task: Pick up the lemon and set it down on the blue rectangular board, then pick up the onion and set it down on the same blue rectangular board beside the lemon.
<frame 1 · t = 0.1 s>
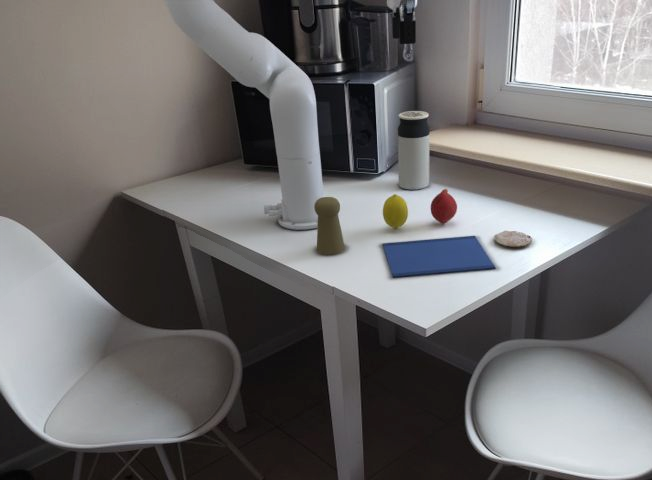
hand: (403, 40, 127), 37 cm above the table, tool pointing down, fingers open, 9 cm apart
onion: (443, 224, 140), on the table
travel mug: (413, 186, 163), on the table
lemon: (395, 230, 139), on the table
olive pawn: (330, 250, 131), on the table
blue rectangular board: (436, 256, 125), on the table
flatbread: (512, 241, 130), on the table
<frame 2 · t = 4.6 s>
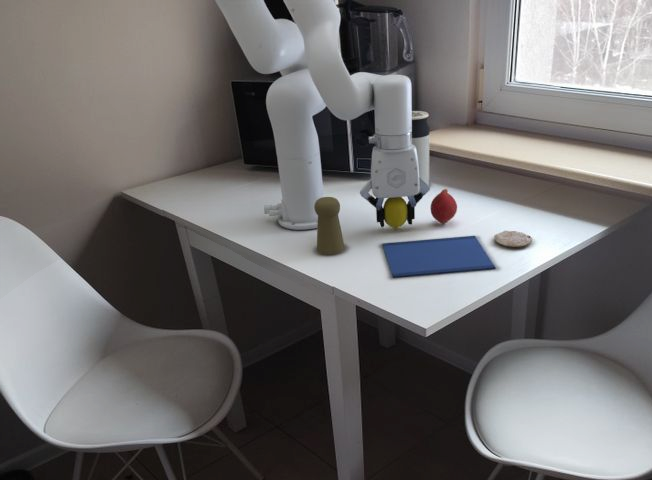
hand: (395, 222, 138), 2 cm above the table, tool pointing down, fingers closed on lemon, 5 cm apart
lemon: (395, 230, 139), on the table, touching gripper
everything else where it was.
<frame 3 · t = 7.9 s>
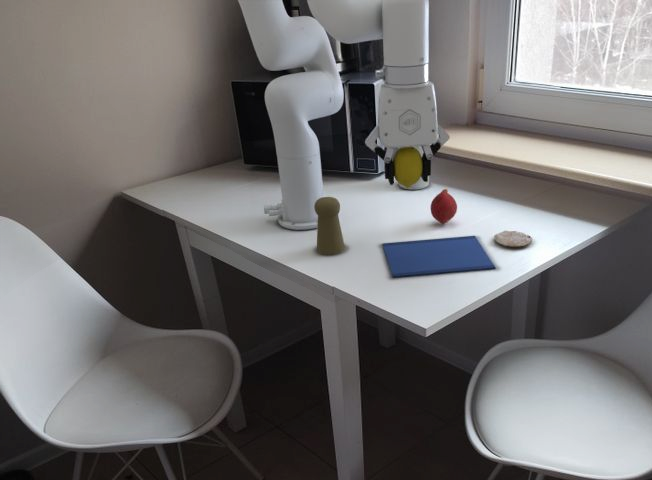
hand: (407, 180, 114), 17 cm above the table, tool pointing down, fingers closed on lemon, 5 cm apart
lemon: (407, 189, 115), point 15 cm above the table, touching gripper
everything else where it was.
when the fingers open (2 cm above the table, at t = 11.7 s): lemon stays where it is, resting on blue rectangular board.
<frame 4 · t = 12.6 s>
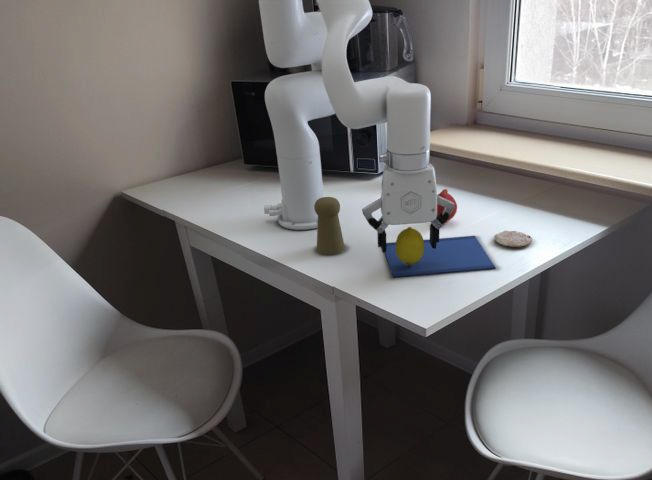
hand: (408, 247, 120), 4 cm above the table, tool pointing down, fingers open, 9 cm apart
lemon: (410, 266, 122), resting on blue rectangular board
everything else where it was.
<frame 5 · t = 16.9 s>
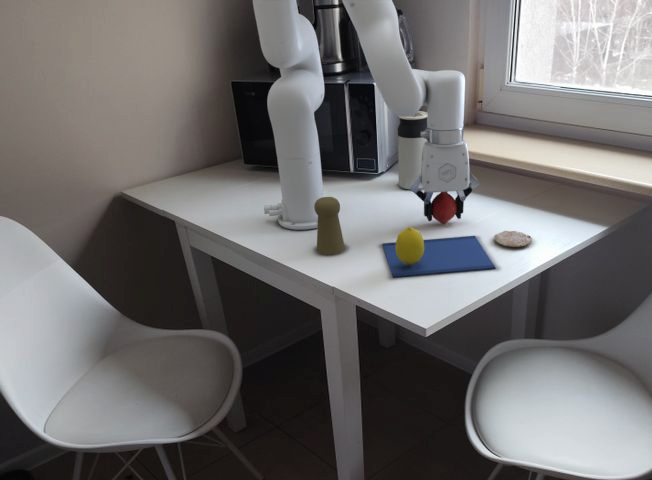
hand: (443, 217, 139), 2 cm above the table, tool pointing down, fingers closed on onion, 5 cm apart
onion: (443, 224, 140), on the table, touching gripper
everything else where it was.
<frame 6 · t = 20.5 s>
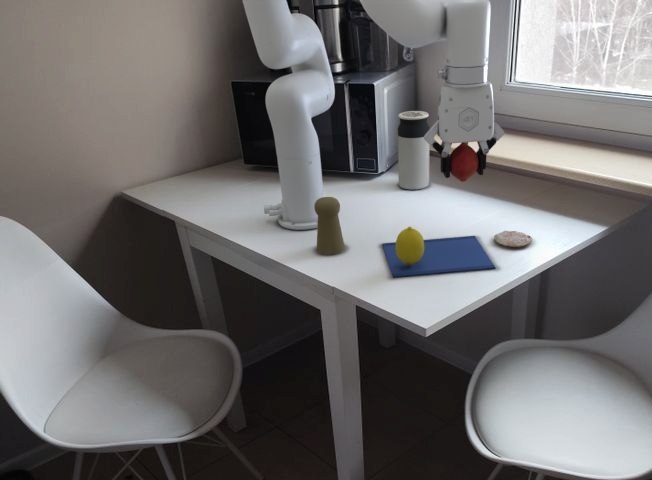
hand: (462, 173, 121), 15 cm above the table, tool pointing down, fingers closed on onion, 5 cm apart
onion: (462, 182, 122), point 13 cm above the table, touching gripper
everything else where it was.
when the fingers open (2 cm above the table, at t = 23.9 s): onion stays where it is, resting on blue rectangular board.
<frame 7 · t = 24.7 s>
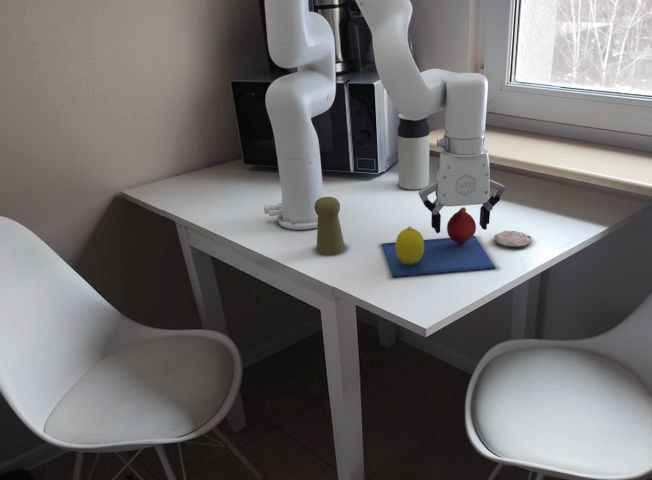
hand: (459, 228, 127), 4 cm above the table, tool pointing down, fingers open, 9 cm apart
onion: (460, 245, 129), resting on blue rectangular board
everything else where it was.
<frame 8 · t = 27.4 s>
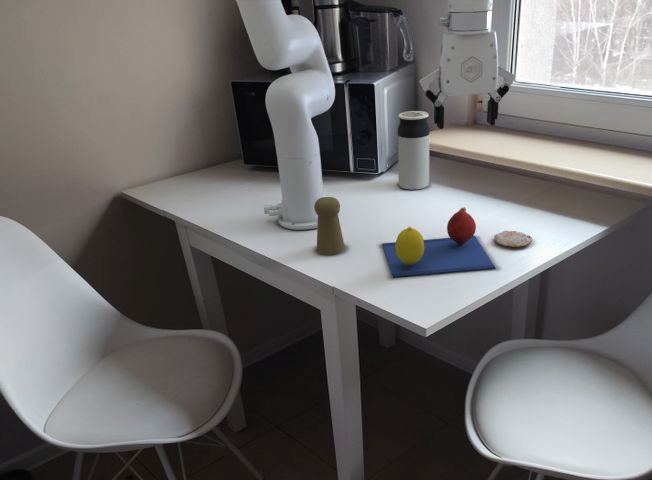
hand: (465, 125, 116), 24 cm above the table, tool pointing down, fingers open, 9 cm apart
nothing on the table moved.
at the end: lemon inside the target area on the blue rectangular board (7.2 cm from its centre), point 0.1 cm above the blue rectangular board's base; onion inside the target area on the blue rectangular board (7.2 cm from its centre), point 0.1 cm above the blue rectangular board's base; the gripper is holding nothing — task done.
